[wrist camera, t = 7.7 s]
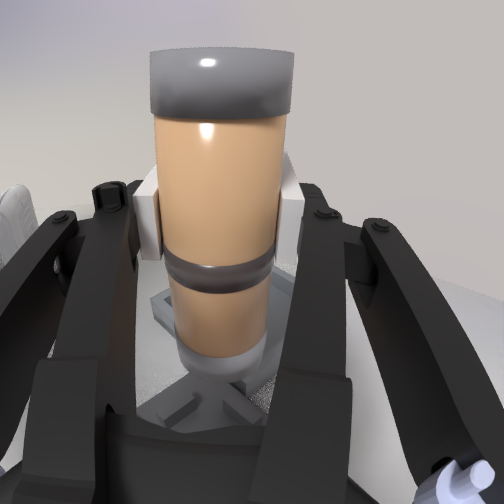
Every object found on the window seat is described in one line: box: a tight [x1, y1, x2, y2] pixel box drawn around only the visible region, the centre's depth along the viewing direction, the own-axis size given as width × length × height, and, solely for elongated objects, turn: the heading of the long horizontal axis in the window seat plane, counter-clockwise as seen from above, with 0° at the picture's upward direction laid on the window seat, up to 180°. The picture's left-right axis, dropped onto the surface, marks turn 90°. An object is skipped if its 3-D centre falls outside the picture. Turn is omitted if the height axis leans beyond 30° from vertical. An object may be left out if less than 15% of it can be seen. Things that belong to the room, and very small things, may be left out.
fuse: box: [150, 47, 294, 383], centre depth 13 cm, size 5×5×14 cm
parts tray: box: [150, 265, 295, 399], centre depth 34 cm, size 14×14×3 cm
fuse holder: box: [136, 373, 268, 433], centre depth 20 cm, size 12×10×5 cm
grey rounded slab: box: [0, 184, 39, 266], centre depth 36 cm, size 10×4×12 cm, turn 17°
